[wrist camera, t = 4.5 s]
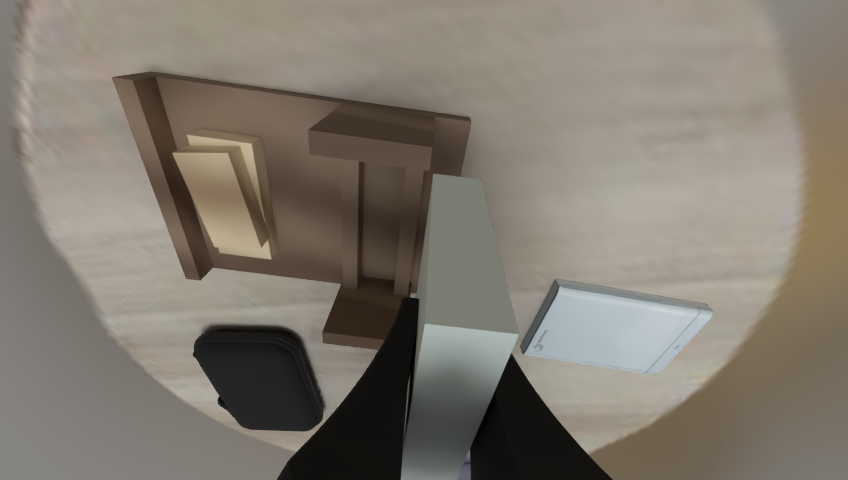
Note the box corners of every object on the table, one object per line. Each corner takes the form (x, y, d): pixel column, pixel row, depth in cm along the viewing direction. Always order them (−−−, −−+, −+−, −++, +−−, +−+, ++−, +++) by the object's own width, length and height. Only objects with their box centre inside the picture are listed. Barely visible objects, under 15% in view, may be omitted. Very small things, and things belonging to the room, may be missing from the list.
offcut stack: (280, 249, 23) (265, 270, 21) (227, 242, 23) (206, 263, 21) (264, 137, 19) (242, 150, 17) (197, 128, 18) (168, 140, 16)
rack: (436, 287, 26) (435, 356, 20) (207, 257, 25) (142, 321, 20) (469, 117, 18) (481, 154, 13) (150, 71, 18) (23, 90, 12)
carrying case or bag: (187, 320, 30) (240, 407, 38) (163, 347, 27) (226, 435, 35) (300, 322, 29) (330, 410, 37) (286, 350, 27) (322, 438, 35)
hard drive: (522, 356, 28) (656, 378, 29) (560, 287, 24) (718, 314, 24) (518, 341, 30) (647, 362, 30) (553, 273, 25) (703, 299, 26)
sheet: (447, 324, 18) (450, 493, 12) (413, 320, 18) (396, 487, 12) (480, 179, 13) (519, 334, 7) (433, 173, 13) (424, 323, 7)
